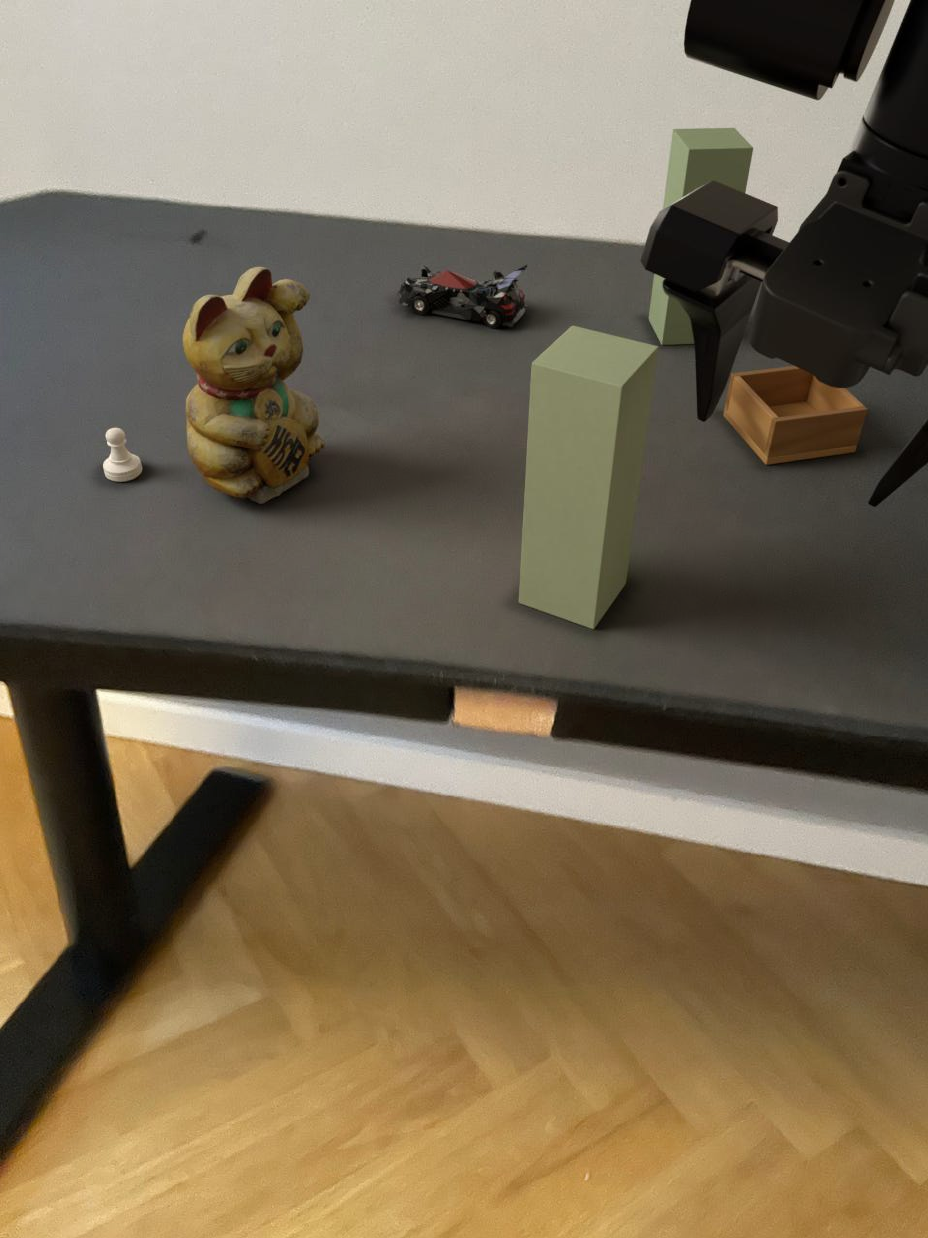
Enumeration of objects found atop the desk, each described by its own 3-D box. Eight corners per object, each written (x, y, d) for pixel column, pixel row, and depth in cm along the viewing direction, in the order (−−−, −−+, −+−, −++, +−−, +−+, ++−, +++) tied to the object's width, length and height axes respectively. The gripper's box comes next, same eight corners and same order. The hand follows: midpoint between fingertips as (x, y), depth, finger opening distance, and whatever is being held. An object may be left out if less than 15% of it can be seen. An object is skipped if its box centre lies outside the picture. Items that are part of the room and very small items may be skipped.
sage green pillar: (626, 583, 66) (659, 346, 56) (593, 630, 63) (622, 386, 52) (553, 559, 68) (572, 324, 58) (518, 603, 65) (531, 362, 54)
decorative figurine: (254, 528, 70) (221, 314, 60) (162, 490, 74) (117, 281, 64) (342, 461, 76) (326, 257, 67) (253, 429, 80) (225, 229, 70)
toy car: (509, 334, 92) (511, 289, 89) (383, 311, 95) (381, 266, 93) (532, 306, 96) (534, 262, 94) (410, 285, 100) (409, 241, 97)
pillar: (703, 317, 95) (734, 127, 84) (718, 342, 91) (753, 147, 81) (648, 319, 94) (672, 128, 84) (661, 345, 91) (689, 148, 80)
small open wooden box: (855, 452, 78) (868, 408, 76) (765, 465, 77) (775, 421, 74) (807, 404, 83) (817, 362, 81) (722, 415, 82) (730, 373, 80)
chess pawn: (127, 458, 77) (117, 415, 74) (150, 471, 75) (140, 428, 73) (97, 473, 75) (86, 430, 73) (120, 486, 74) (109, 443, 72)
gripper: (631, 97, 39) (543, 442, 50) (1144, 302, 33) (917, 641, 44) (751, 44, 46) (650, 356, 57) (1190, 205, 40) (985, 518, 51)
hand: (786, 458), depth 52 cm, fingers open, 9 cm apart
